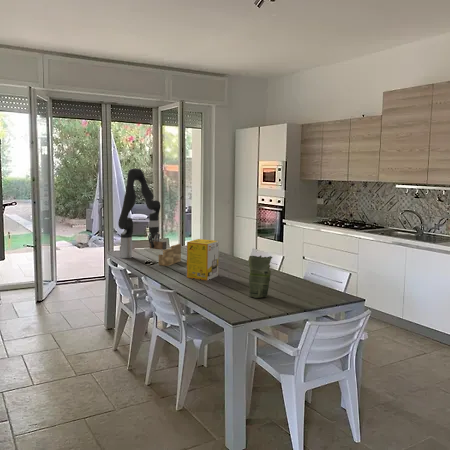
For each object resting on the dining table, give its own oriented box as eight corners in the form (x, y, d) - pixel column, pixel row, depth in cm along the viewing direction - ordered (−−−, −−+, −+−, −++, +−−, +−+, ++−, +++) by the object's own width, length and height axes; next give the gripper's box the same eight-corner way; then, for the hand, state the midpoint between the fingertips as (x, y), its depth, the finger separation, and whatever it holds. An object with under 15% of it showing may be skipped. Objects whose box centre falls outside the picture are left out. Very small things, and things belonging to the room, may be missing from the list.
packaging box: (198, 272, 333) (198, 238, 330) (218, 275, 326) (218, 240, 323) (186, 277, 319) (186, 242, 316) (207, 280, 312) (207, 244, 309)
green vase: (245, 295, 278) (246, 254, 275) (261, 292, 284) (262, 252, 281) (256, 300, 269) (257, 257, 265) (272, 297, 275) (274, 256, 272)
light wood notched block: (158, 265, 357) (158, 247, 355) (172, 260, 376) (172, 243, 374) (167, 266, 354) (167, 248, 352) (180, 261, 373) (180, 244, 371)
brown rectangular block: (149, 248, 362) (149, 241, 361) (152, 247, 366) (152, 240, 365) (163, 249, 357) (163, 242, 356) (166, 248, 361) (166, 241, 360)
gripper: (154, 224, 368) (155, 246, 370) (144, 226, 355) (145, 248, 358) (162, 225, 365) (163, 246, 367) (153, 227, 352) (153, 249, 355)
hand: (154, 247), depth 362 cm, fingers closed on brown rectangular block, 4 cm apart
